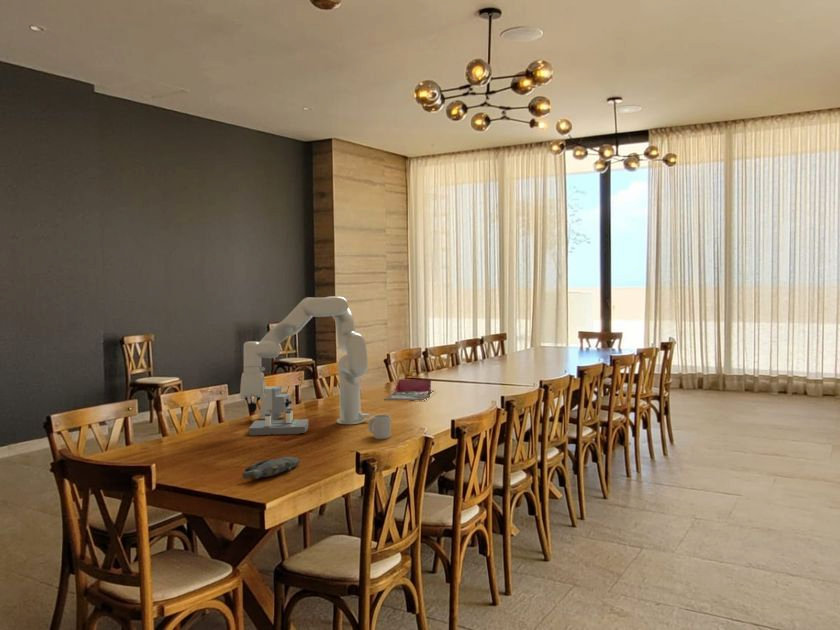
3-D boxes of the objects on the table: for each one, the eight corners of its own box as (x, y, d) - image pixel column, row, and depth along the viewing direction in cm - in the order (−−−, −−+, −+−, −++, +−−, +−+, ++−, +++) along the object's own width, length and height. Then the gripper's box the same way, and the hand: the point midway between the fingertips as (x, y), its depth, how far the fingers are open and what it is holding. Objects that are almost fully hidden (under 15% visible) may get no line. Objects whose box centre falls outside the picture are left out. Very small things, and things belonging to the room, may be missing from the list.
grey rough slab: (305, 452, 249) (272, 453, 256) (258, 467, 227) (224, 468, 234) (307, 466, 248) (274, 467, 255) (260, 483, 226) (225, 483, 233)
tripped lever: (271, 425, 306) (270, 413, 305) (270, 426, 303) (270, 414, 303) (266, 425, 305) (265, 413, 305) (265, 426, 303) (264, 414, 303)
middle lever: (291, 422, 312) (291, 410, 312) (290, 423, 310) (290, 411, 309) (286, 422, 312) (286, 410, 312) (285, 423, 309) (285, 411, 309)
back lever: (292, 419, 318) (292, 407, 318) (292, 420, 316) (291, 408, 315) (288, 419, 318) (287, 407, 318) (287, 420, 315) (287, 408, 315)
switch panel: (308, 425, 320) (308, 418, 320) (305, 433, 303) (304, 426, 303) (255, 427, 318) (255, 420, 318) (248, 435, 301) (248, 428, 301)
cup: (385, 439, 289) (385, 418, 289) (364, 437, 294) (364, 416, 293) (393, 436, 296) (393, 415, 295) (372, 434, 300) (372, 413, 300)
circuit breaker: (287, 420, 333) (287, 389, 332) (259, 419, 336) (259, 388, 335) (293, 417, 340) (292, 386, 340) (266, 416, 343) (265, 386, 343)
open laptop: (437, 392, 415) (437, 378, 415) (426, 402, 381) (426, 387, 380) (397, 391, 420) (397, 378, 419) (383, 401, 386) (382, 386, 385)
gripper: (271, 369, 307) (271, 410, 308) (236, 369, 306) (236, 410, 306) (268, 371, 299) (268, 413, 300) (233, 371, 298) (233, 413, 299)
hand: (252, 412), depth 303 cm, fingers closed
